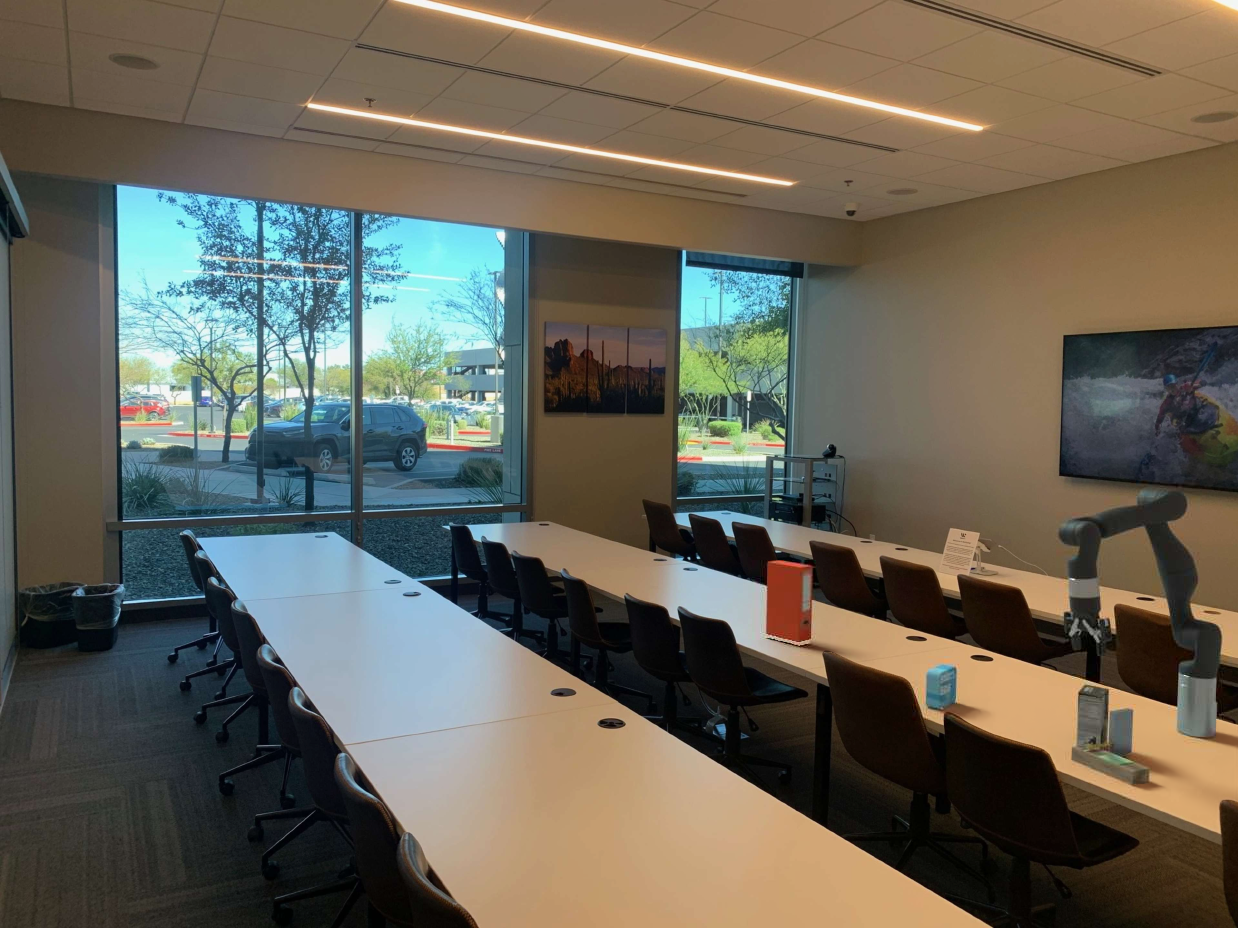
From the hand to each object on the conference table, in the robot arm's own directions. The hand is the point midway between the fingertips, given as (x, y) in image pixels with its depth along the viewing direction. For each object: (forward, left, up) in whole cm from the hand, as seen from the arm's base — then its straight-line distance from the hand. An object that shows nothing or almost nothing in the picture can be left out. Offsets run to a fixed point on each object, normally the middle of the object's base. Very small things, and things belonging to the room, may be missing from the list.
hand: (1089, 652), depth 243 cm
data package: (+8, -47, -28) cm, 56 cm away
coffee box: (-6, -3, -28) cm, 29 cm away
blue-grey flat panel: (-2, +6, -27) cm, 28 cm away
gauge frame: (+4, +11, -28) cm, 30 cm away
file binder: (+9, -134, -28) cm, 137 cm away
